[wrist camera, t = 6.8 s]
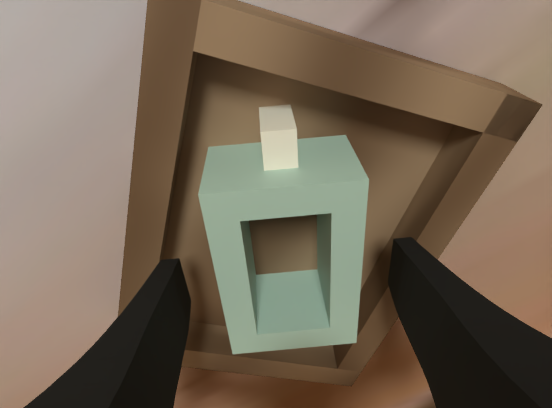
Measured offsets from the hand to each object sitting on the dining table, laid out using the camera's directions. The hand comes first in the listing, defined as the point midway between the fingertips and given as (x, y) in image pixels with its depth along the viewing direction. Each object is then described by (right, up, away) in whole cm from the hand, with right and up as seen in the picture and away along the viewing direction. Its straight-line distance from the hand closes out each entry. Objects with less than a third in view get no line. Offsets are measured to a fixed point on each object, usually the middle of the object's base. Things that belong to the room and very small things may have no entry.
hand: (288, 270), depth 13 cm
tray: (0, +2, +2) cm, 3 cm away
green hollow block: (0, +2, +2) cm, 2 cm away
